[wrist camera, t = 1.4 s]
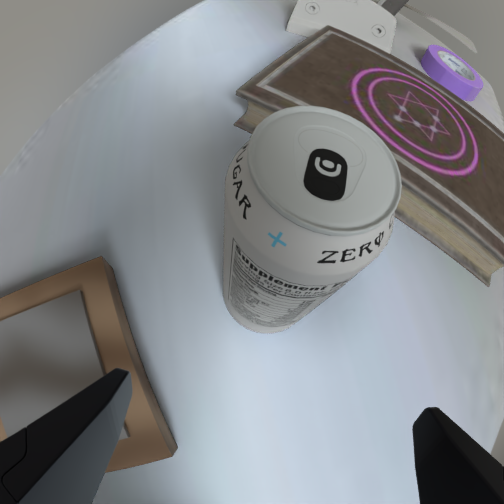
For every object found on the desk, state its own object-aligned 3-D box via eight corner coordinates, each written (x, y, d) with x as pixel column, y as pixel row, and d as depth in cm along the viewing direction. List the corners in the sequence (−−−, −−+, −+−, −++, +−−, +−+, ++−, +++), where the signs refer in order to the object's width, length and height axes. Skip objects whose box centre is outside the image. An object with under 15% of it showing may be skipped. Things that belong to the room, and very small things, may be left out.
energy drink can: (312, 268, 24) (413, 130, 10) (294, 345, 21) (416, 282, 7) (237, 245, 24) (257, 77, 10) (212, 321, 21) (193, 214, 8)
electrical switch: (378, 9, 49) (393, -19, 41) (398, 21, 49) (414, -7, 40) (366, 15, 46) (383, -17, 37) (388, 28, 46) (406, -4, 37)
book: (233, 128, 29) (236, 89, 24) (321, 50, 37) (328, 23, 33) (485, 288, 25) (518, 271, 20) (496, 161, 33) (514, 141, 29)
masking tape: (474, 112, 37) (485, 97, 33) (417, 73, 38) (426, 56, 35) (472, 85, 41) (481, 72, 38) (423, 52, 43) (430, 38, 39)
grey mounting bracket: (283, 30, 38) (298, -25, 31) (289, 29, 41) (302, -21, 34) (388, 66, 37) (408, 13, 30) (385, 62, 40) (403, 13, 33)
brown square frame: (177, 447, 18) (170, 458, 15) (29, 476, 14) (10, 484, 12) (112, 268, 22) (99, 253, 19) (-16, 319, 19) (-36, 311, 16)
